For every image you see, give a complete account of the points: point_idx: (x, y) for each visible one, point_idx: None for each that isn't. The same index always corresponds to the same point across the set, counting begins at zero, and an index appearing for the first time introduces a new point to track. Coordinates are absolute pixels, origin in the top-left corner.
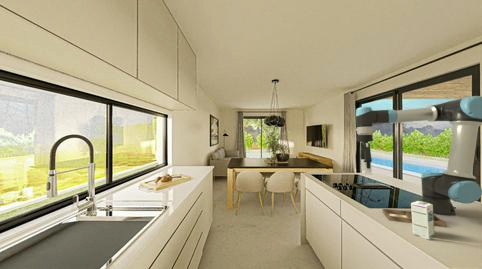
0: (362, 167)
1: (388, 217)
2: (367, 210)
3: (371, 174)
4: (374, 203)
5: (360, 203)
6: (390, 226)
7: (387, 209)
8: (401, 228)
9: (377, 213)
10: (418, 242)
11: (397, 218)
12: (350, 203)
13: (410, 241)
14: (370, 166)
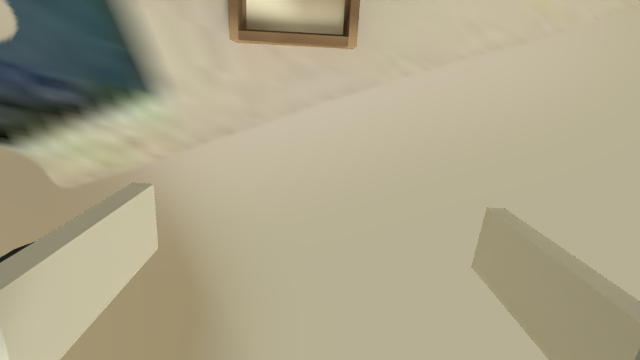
0: (132, 264)
1: (348, 46)
2: (209, 108)
3: (507, 210)
4: (41, 30)
5: (87, 118)
6: (407, 61)
7: (238, 13)
8: (419, 18)
9: (241, 68)
10: (547, 6)
11: (358, 5)
12: (116, 173)
13: (543, 35)
14: (589, 279)
